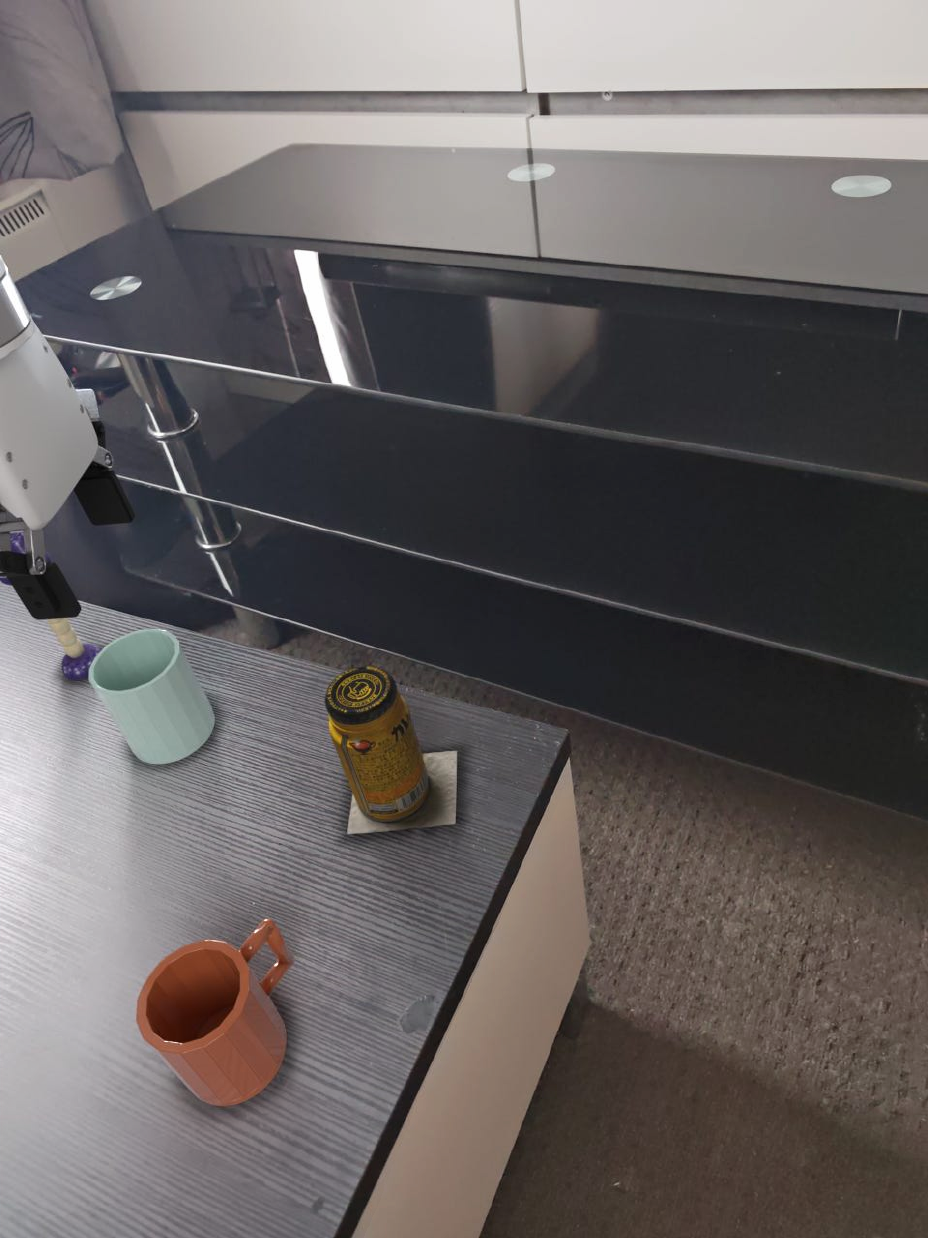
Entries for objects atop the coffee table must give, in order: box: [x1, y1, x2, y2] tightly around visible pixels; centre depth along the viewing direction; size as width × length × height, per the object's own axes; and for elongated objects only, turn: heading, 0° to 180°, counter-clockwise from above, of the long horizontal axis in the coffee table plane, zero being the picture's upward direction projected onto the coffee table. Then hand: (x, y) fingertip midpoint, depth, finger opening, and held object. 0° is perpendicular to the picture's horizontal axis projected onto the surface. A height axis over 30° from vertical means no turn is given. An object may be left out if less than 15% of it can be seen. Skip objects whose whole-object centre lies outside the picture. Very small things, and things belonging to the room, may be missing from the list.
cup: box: [87, 628, 216, 765], centre depth 79 cm, size 8×8×9 cm
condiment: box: [324, 665, 458, 835], centre depth 69 cm, size 7×8×12 cm
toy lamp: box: [0, 532, 102, 681], centre depth 85 cm, size 5×5×17 cm
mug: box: [135, 917, 295, 1107], centre depth 58 cm, size 10×7×8 cm
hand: (88, 565), depth 61 cm, fingers open, 9 cm apart
